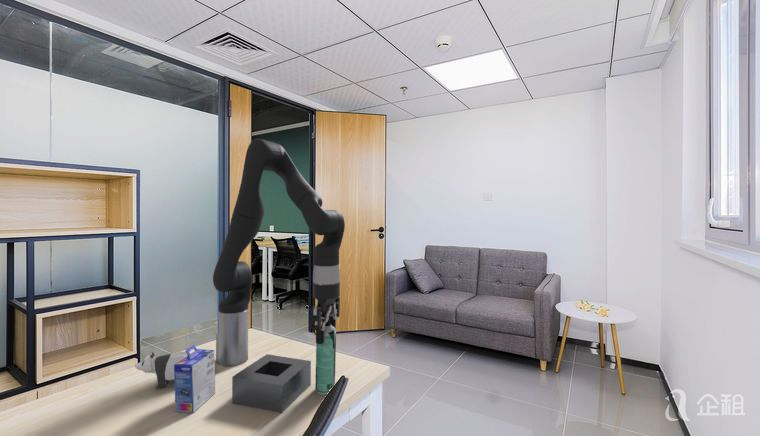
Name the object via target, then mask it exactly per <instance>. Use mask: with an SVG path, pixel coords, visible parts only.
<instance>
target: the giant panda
mask: <svg viewBox="0 0 760 436" xmlns="http://www.w3.org/2000/svg"><path fill="white" fill-rule="evenodd" d="M189 354H191V353H190V352H189ZM185 357H187V353H186V351H176V352H173V353H169V354H163V355H159V356H155V353H154V352H151V354H149V355H146V356H145V357H144V359H143V360H142V361H140V362H138V363H136V364H135V365H134V366H135V368H136V369H137V370H139V371H142V372H144V373H145V374H155V375H156V380H157V386H155V388H154V390H161V389H165V388H166V384H167V383H168V382H169V381H170V380H175V379H174V365H175V364H176V363H178V362H179V361H181V360H182V359H184V358H185Z"/></svg>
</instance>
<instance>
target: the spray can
mask: <svg viewBox="0 0 760 436" xmlns="http://www.w3.org/2000/svg"><path fill="white" fill-rule="evenodd" d="M315 344H316V345H315V347H316V348H315V349H316V350H315V385H314V386H315V389H314V390H315V393H316V394H318V395H319V396H320V395H321V396H327V395H326V394H327V393H328V392H329V390H330V389H331V388H332V387H333V386H334V384H335V385H336V353H337V352H336V351H337V350H336V348H337V347H336V346H337V327H336V328H335V327H333V326H332V325H331V324H330V320H328V321H327V322H326V323H325V327H324V343H323V344H317V343H316V342H315Z"/></svg>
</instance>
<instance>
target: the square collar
mask: <svg viewBox="0 0 760 436" xmlns="http://www.w3.org/2000/svg"><path fill="white" fill-rule="evenodd" d="M311 374H312V361H311V360H308V359H300V358H293V357H286V356H281V355H274V354H273V355H272V354H265V355H263V356H262V357H260V358H259V359H257V360H255V361H254V362H252V363H251V364H249V365H248V366H246V367H244V368H243V369H242V370H240V371H239V372H237V373H235V374H234V375H233V376H232V379H231V382H232V383H231V390H232V391H231V396H232V398H231V403H232V404H236V405H241V406H245V407H249V408H255V409H260V410H265V411H270V412H275V413H279V414H283V413H284V412H285V411H286V410H287V409H288V408H289V407H290V406H291V405H292V404H293V403H294V402H295V401H297V399H298V398H299V397H300V396H301V395H302V394H303V393H304V392H305V391H307V389H309V387H310V386H311V383H312V382H311V381H312V379H311V377H312V375H311Z"/></svg>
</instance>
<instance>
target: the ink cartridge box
mask: <svg viewBox="0 0 760 436" xmlns="http://www.w3.org/2000/svg"><path fill="white" fill-rule="evenodd" d="M191 350H194V351H193V352H192V353H190V352H191ZM184 352H186V353H187V357H185V358H184V359H182V360H181V361H179V362H178V363H176V364H175V365H174V379H173V380H174V401H175V403H174V404H175V408H174V409H175V412H181V413H190V414H192V413H195V412H196V411H197V410H198V409H199V408H200V407H202V405H204V404H205V403H206V402H207V401H208V400H209V399H210V398H211V397H213V395H215V394H216V369H215V368H216V367H215V365H216V364H215V363H216V355H215V350H214V349H202V348H199V349H197V347H196V346H195V344H194V345H191V346H190V347H188V348H186V349H185V351H184ZM189 353H190V354H189Z"/></svg>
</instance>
